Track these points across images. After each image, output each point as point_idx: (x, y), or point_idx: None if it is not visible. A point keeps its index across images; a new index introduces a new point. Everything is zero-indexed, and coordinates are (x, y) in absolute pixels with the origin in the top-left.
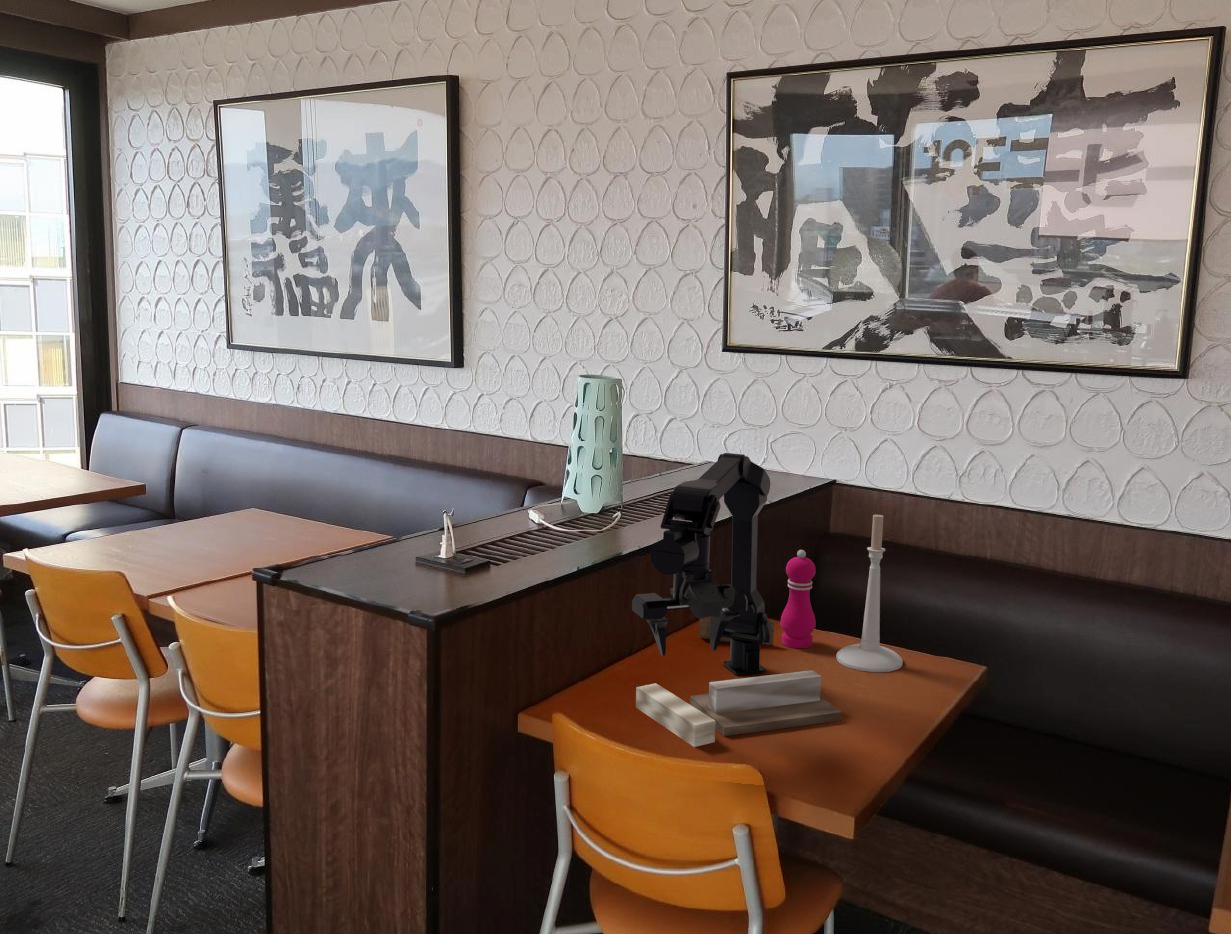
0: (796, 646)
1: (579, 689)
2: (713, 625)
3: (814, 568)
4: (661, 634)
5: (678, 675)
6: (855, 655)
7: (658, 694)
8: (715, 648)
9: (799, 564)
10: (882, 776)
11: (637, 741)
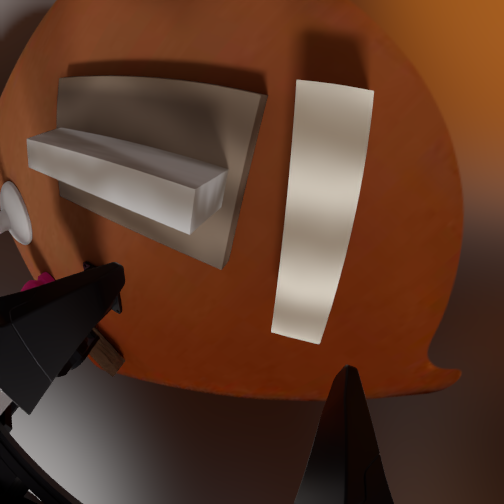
0: (52, 279)
1: None
2: (53, 346)
3: None
4: (372, 477)
5: (186, 334)
6: (15, 217)
7: (308, 296)
8: (109, 265)
9: None
10: None
11: (448, 205)
